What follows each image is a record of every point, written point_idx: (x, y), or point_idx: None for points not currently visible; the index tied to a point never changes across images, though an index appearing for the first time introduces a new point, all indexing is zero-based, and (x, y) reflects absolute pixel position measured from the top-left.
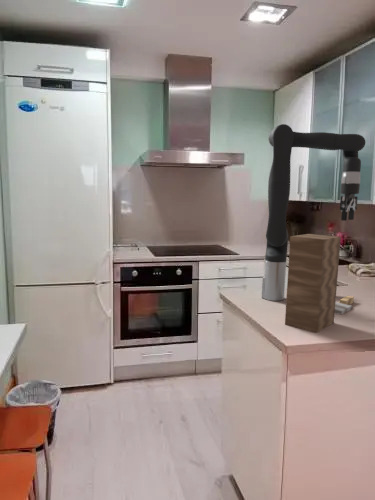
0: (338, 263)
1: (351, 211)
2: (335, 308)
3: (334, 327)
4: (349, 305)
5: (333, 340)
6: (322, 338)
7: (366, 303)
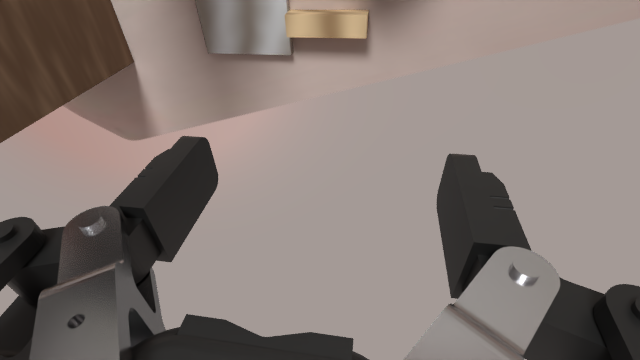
0: (3, 140)
1: (469, 273)
2: (220, 26)
3: None
4: (284, 48)
5: None
6: None
7: (384, 68)
